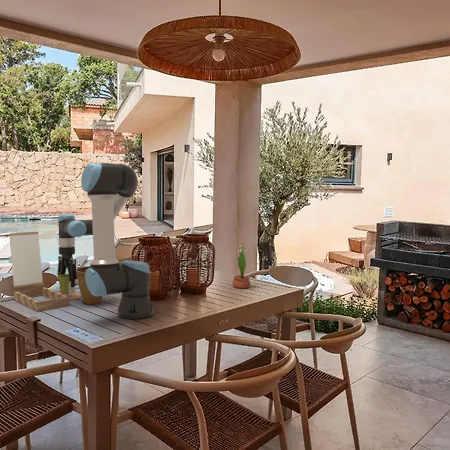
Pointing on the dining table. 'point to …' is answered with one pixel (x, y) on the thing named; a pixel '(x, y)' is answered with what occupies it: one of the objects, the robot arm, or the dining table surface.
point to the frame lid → (25, 258)
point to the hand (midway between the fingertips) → (67, 291)
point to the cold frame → (28, 291)
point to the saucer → (73, 295)
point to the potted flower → (241, 271)
